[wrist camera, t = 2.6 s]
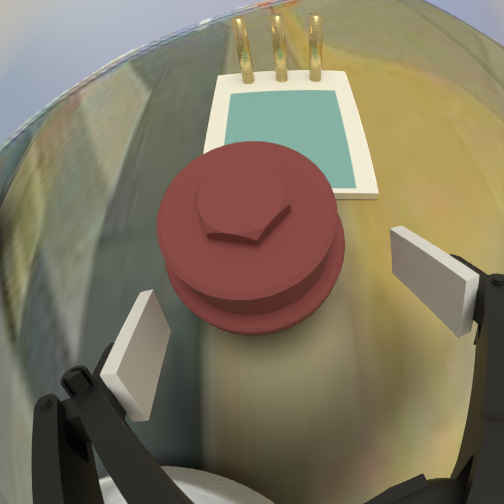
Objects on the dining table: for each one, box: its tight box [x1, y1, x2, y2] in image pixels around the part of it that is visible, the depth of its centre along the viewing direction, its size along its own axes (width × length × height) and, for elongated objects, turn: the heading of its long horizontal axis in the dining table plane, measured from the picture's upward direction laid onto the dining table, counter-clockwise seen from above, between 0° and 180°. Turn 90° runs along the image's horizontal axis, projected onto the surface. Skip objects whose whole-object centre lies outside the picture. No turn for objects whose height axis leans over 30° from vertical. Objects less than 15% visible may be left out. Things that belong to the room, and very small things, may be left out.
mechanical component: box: [157, 141, 345, 335], centre depth 18 cm, size 12×10×10 cm
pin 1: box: [231, 16, 255, 84], centre depth 29 cm, size 1×1×9 cm
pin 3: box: [309, 13, 323, 82], centre depth 28 cm, size 1×1×9 cm
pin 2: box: [270, 13, 288, 82], centre depth 28 cm, size 1×1×9 cm
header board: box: [203, 70, 379, 200], centre depth 30 cm, size 16×19×1 cm
